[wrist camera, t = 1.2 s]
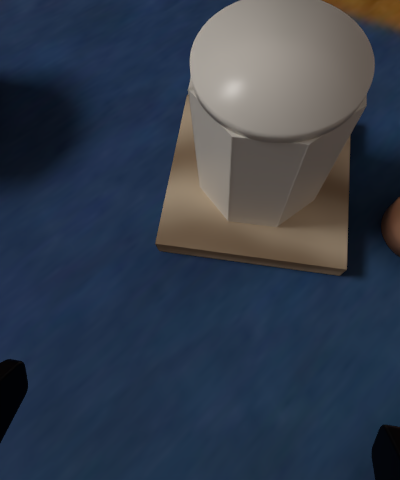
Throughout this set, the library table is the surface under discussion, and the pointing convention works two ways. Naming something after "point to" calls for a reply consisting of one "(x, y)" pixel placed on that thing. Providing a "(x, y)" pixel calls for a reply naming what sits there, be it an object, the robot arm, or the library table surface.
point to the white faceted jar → (274, 103)
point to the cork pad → (250, 235)
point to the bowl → (392, 227)
